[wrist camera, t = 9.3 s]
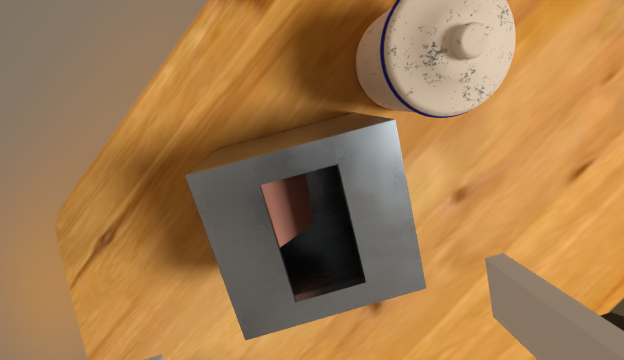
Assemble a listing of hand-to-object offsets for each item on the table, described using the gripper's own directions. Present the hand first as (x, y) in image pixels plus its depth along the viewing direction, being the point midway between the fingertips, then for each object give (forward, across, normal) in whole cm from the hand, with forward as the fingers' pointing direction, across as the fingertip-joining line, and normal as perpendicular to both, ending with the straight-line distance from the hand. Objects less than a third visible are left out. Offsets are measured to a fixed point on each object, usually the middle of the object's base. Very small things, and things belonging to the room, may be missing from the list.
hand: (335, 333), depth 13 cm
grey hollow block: (+20, 0, 0) cm, 20 cm away
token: (+18, 0, +1) cm, 18 cm away
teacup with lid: (+20, +13, +11) cm, 26 cm away
